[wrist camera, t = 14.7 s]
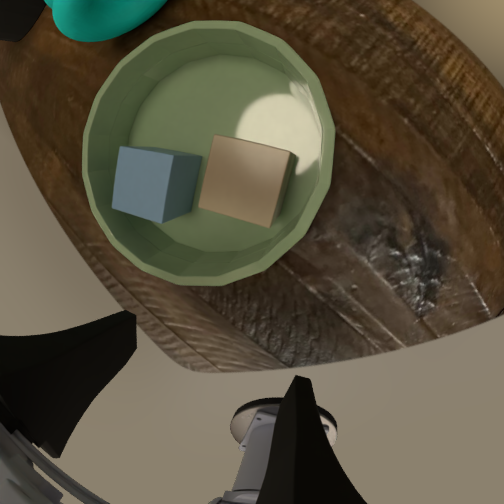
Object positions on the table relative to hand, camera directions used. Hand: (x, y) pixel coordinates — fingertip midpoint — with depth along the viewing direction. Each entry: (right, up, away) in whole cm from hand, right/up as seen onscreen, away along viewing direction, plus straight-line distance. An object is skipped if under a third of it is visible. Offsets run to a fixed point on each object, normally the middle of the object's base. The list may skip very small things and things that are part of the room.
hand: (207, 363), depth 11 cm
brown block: (+2, +9, +6) cm, 12 cm away
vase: (-32, +41, +5) cm, 52 cm away
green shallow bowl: (-1, +12, +7) cm, 13 cm away
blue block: (-4, +10, +8) cm, 13 cm away
